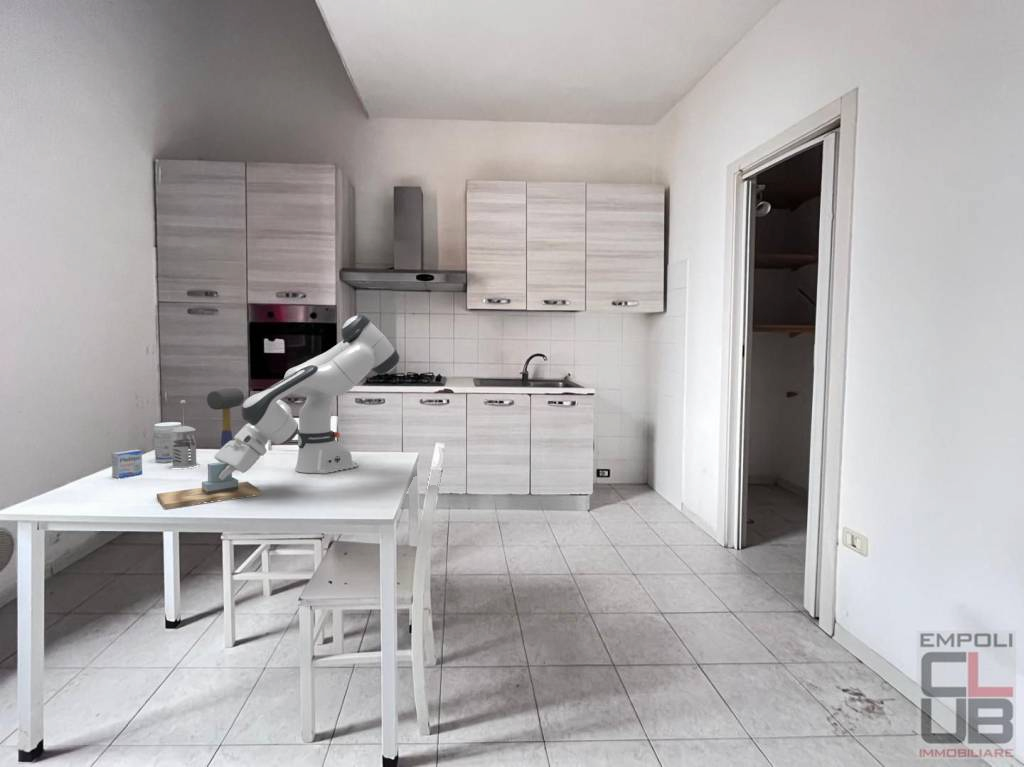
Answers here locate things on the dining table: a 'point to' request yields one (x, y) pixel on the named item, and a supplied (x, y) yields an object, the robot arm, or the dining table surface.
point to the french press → (184, 447)
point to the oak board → (204, 495)
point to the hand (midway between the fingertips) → (217, 477)
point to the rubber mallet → (225, 407)
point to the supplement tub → (165, 441)
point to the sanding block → (218, 480)
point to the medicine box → (126, 463)
